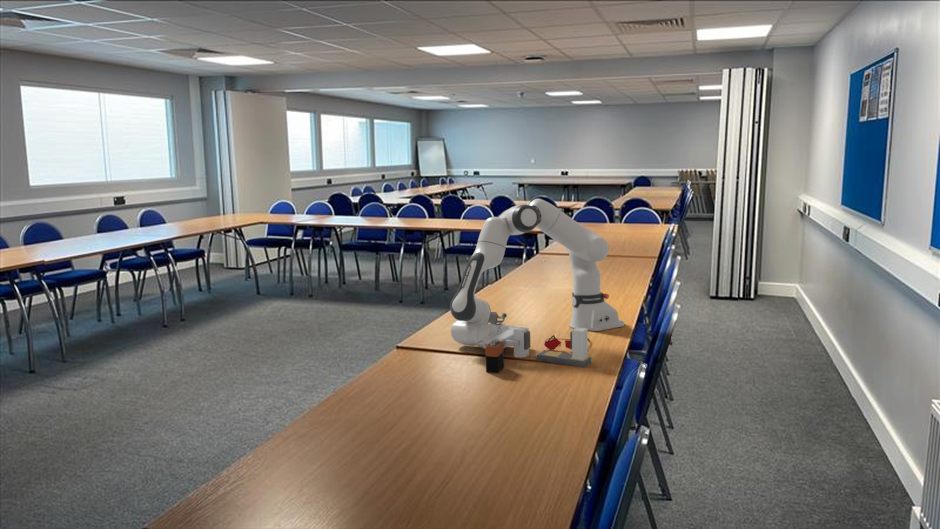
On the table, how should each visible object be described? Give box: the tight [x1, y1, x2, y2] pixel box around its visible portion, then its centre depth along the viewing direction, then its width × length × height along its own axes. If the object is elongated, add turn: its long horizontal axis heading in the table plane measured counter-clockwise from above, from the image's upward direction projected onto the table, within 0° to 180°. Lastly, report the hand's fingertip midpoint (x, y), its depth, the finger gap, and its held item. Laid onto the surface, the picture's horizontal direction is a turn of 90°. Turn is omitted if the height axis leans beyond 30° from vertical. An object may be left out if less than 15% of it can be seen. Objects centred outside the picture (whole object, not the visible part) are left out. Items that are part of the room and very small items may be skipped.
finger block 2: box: [569, 327, 589, 360], centre depth 224 cm, size 5×4×10 cm
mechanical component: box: [488, 311, 507, 324], centre depth 260 cm, size 3×10×10 cm, turn 79°
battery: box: [484, 339, 505, 374], centre depth 221 cm, size 4×7×10 cm, turn 159°
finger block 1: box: [513, 326, 531, 358], centre depth 235 cm, size 5×4×10 cm
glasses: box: [543, 335, 591, 351], centre depth 246 cm, size 14×16×5 cm
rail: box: [536, 350, 593, 368], centre depth 228 cm, size 18×6×2 cm, turn 57°
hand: (523, 341), depth 235 cm, fingers open, 6 cm apart
